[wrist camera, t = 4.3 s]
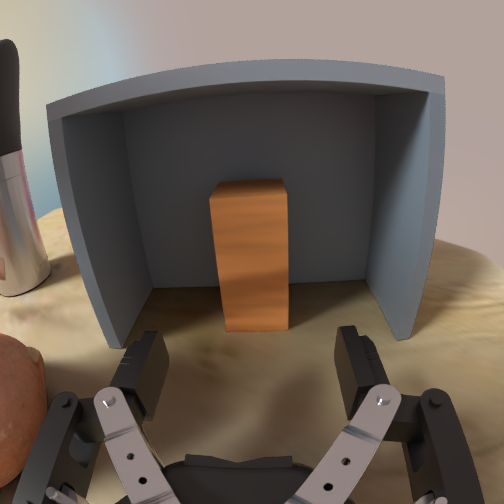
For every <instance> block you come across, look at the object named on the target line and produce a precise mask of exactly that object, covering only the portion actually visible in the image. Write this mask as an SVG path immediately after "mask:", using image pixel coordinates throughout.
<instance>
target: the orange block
mask: <svg viewBox="0 0 504 504" xmlns="http://www.w3.org/2000/svg"><path fill="white" fill-rule="evenodd" d="M209 202H210V211H211V220H212V229H213V237H214V245H215V253H216V261H217V269H218V276H219V284H220V291H221V298H222V305H223V312H224V319H225V326H226V332H248V331H276V330H288V211H287V193H286V190H285V187H284V183H283V180H282V178H280V179H258V180H240V181H225V182H219V183H218V185H217V186H216V188H215V190H214V191H213V193H212V195H211V197H210V198H209Z"/></svg>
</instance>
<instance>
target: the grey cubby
mask: <svg viewBox="0 0 504 504" xmlns="http://www.w3.org/2000/svg"><path fill="white" fill-rule="evenodd" d="M46 109H47V120H48V128H49V137H50V144H51V151H52V158H53V164H54V169H55V175H56V180H57V185H58V190H59V195H60V199H61V204H62V208H63V213H64V217H65V221H66V225H67V229H68V232H69V236H70V240H71V243H72V247H73V250H74V253H75V257H76V260H77V263H78V266H79V269H80V272H81V276H82V279H83V281H84V284H85V287H86V290H87V293H88V296H89V298H90V301H91V304H92V306H93V309H94V312H95V314H96V317H97V319H98V322H99V324H100V327H101V329H102V331H103V334H104V336H105V338H106V341H107V343H108V345H109V348H118V349H122V347H123V345H124V343H125V341H126V339H127V337H128V335H129V333H130V331H131V329H132V327H133V325H134V323H135V322H136V320H137V318H138V316H139V314H140V312H141V310H142V308H143V306H144V304H145V302H146V301H147V299H148V297H149V295H150V293H151V291H152V289H153V288H164V287H212V286H220V284H219V276H218V269H217V261H216V253H215V245H214V237H213V229H212V220H211V211H210V202H209V198H210V197H211V195H212V193H213V191H214V190H215V188H216V186H217V185H218V183H219V182H225V181H240V180H258V179H280V178H282V180H283V183H284V187H285V190H286V193H287V211H288V284H292V283H312V282H330V281H346V280H361V279H365V280H366V282H367V284H368V286H369V288H370V290H371V291H372V293H373V295H374V297H375V299H376V301H377V303H378V305H379V307H380V309H381V311H382V313H383V315H384V316H385V318H386V320H387V322H388V324H389V326H390V328H391V331H392V333H393V335H394V337H395V339H396V341H397V340H404V339H409V338H410V335H411V332H412V329H413V326H414V322H415V319H416V315H417V312H418V308H419V305H420V301H421V297H422V293H423V289H424V285H425V281H426V277H427V272H428V268H429V263H430V259H431V254H432V248H433V243H434V238H435V232H436V226H437V219H438V212H439V204H440V196H441V188H442V178H443V166H444V149H445V81H444V76H440V75H436V74H431V73H426V72H421V71H416V70H411V69H404V68H399V67H392V66H386V65H378V64H369V63H360V62H349V61H348V62H347V61H335V60H313V59H273V60H252V61H238V62H226V63H216V64H207V65H200V66H192V67H186V68H180V69H174V70H168V71H163V72H158V73H152V74H148V75H143V76H139V77H135V78H130V79H126V80H122V81H118V82H115V83H111V84H107V85H104V86H100V87H97V88H93V89H90V90H87V91H84V92H81V93H78V94H75V95H72V96H69V97H66V98H63V99H61V100H58V101H55V102H53V103H50V104H47V105H46Z"/></svg>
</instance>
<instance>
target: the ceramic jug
mask: <svg viewBox="0 0 504 504" xmlns="http://www.w3.org/2000/svg"><path fill="white" fill-rule="evenodd" d="M0 280H4V281H6V269H5V259H4V258H3V257H0ZM46 414H47V392H46V386H45V374H44V362H43V358H42V355H41V353H40V351H38V350H36V349H35V348H32V347H26V346H25V345H24V344H23V343H21V342H20V341H18V340H17V339H15V338H13V337H11V336H8V335H4V334H0V488H2V487H3V486H5V485H7V484H8V483H9V482H11V481H12V480H13V479H14V478H16V477H17V476H18V474H19V473H20V472H21V471H22V470H23V469H24V467H25V464H26V461H27V459H28V456H29V454H30V451H31V449H32V446H33V444H34V442H35V439H36V437H37V434H38V432H39V430H40V428H41V425H42V423H43V421H44V419H45V416H46Z"/></svg>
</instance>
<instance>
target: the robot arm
mask: <svg viewBox="0 0 504 504" xmlns="http://www.w3.org/2000/svg"><path fill="white" fill-rule="evenodd" d="M20 135H21V133H20V114H19V56H18V51H17V48H16V46H15V44H14V43H13V41H11V40H9V39H4V40H0V257H3V258H4V259H5V269H6V281H4V280H0V294H1V295H3V296H14V295H18V294H21V293H24V292H26V291H28V290H30V289H32V288H34V287H36V286H37V285H39V284H40V283H41V282H42V281H44V280H45V279H46V278H47V277H48V275H49V274H50V272H51V266H50V263H49V260H48V256H47V254H46V251H45V248H44V245H43V241H42V238H41V234H40V231H39V227H38V224H37V220H36V216H35V212H34V208H33V204H32V200H31V195H30V191H29V186H28V182H27V176H26V172H25V166H24V160H23V153H22V150H21V149H22V146H21V136H20ZM334 361H335V366H336V370H337V375H338V379H339V383H340V388H341V392H342V396H343V401H344V405H345V410H346V415H347V419H348V421H349V420H351V422H350V423H349V425H348V426H347V427H345V428H344V429H343V430H342V432H341V433H340V434H339V436H338V437H337V439H336V440H335V442H334V443H333V445H332V446H331V448H330V449H329V450H328V452H327V453H326V454H325V456H324V457H323V459H322V460H321V461H320V463H319V464H318V465H317V467H316V468H315V469H312V468H310V467H308V466H306V465H303V464H299V463H294V462H292V456H283V457H264V458H259V459H255V460H250V461H246V462H241V463H235V462H231V461H227V460H223V459H219V458H216V457H212V456H202V455H190V454H186V456H185V461H179V462H175V463H172V464H170V465H167V466H164V464H163V463H162V461H161V460H160V458H159V457H158V455H157V453H156V451H155V450H154V448H153V446H152V444H151V442H150V440H149V439H148V437H147V435H146V433H145V431H144V429H143V427H142V424H143V421H144V420H148V421H152V420H153V416H154V413H155V409H156V406H157V403H158V400H159V396H160V393H161V390H162V386H163V383H164V380H165V377H166V374H167V371H168V367H169V355H168V352H167V349H166V346H165V342H164V339H163V336H162V333H161V332H160V331H144V332H143V334H142V336H141V338H140V341H134V342H133V343H132V344H131V345H130V346H129V347H128V348H127V350H126V352H125V354H124V358H122V360H121V362H120V363H121V364H119V367H118V369H117V371H116V373H115V375H114V377H113V380H112V382H111V384H110V386H109V387H107V388H104V389H102V390H100V391H99V392H98V393H97V394H96V395H95V397H94V398H86V399H78V398H77V396H76V395H75V394H74V393H72V392H62V393H60V394H58V395H57V396H56V397H55V398H54V400H53V401H52V404H51V406H50V408H49V410H48V412H47V414H46V416H45V419H44V421H43V423H42V425H41V428H40V430H39V432H38V434H37V437H36V439H35V442H34V444H33V446H32V449H31V451H30V454H29V456H28V459H27V461H26V464H25V467H24V469H23V472H22V475H21V477H20V480H19V483H18V486H17V489H16V492H15V495H14V498H13V501H12V504H89V503H88V501H87V500H86V496H87V492H88V488H89V484H90V480H91V477H92V473H93V469H94V466H95V462H96V459H97V455H98V452H99V448H100V445H101V442H102V441H104V442H105V445H106V448H107V450H108V453H109V455H110V458H111V460H112V462H113V465H114V467H115V469H116V472H117V474H118V476H119V478H120V480H121V483H122V485H123V487H124V489H125V491H126V493H127V495H126V496H125V497H124V498H122V499H121V500H120V501H118V502H117V503H115V504H355V503H354V502H353V501H352V500H350V499H349V498H348V496H349V495H350V493H351V492H352V490H353V489H354V487H355V486H356V484H357V483H358V481H359V479H360V478H361V476H362V475H363V473H364V471H365V470H366V468H367V466H368V465H369V463H370V461H371V459H372V458H373V456H374V454H375V452H376V451H377V449H378V447H379V445H380V443H381V441H394V442H402V447H403V451H404V456H405V461H406V465H407V470H408V475H409V481H410V486H411V492H412V497H413V503H414V504H485V503H484V499H483V495H482V491H481V487H480V483H479V480H478V476H477V473H476V469H475V466H474V463H473V460H472V457H471V453H470V450H469V447H468V444H467V442H466V439H465V436H464V433H463V430H462V427H461V425H460V422H459V419H458V417H457V414H456V412H455V409H454V407H453V404H452V402H451V399H450V397H449V395H448V394H447V393H446V392H444V391H443V390H440V389H436V388H433V389H428V390H426V391H425V392H424V393H423V394H422V396H409V395H403V394H400V392H399V391H398V390H397V389H396V388H395V387H393V386H391V385H390V383H389V381H388V378H387V375H386V373H385V370H384V367H383V365H382V362H381V360H380V357H379V355H378V353H377V350H376V347H375V345H374V342H373V341H372V340H371V339H369V338H368V337H367V336H366V335H365V336H359V335H358V332H357V329H356V327H355V326H354V325H352V326H341V327H338V329H337V336H336V343H335V350H334Z"/></svg>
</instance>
